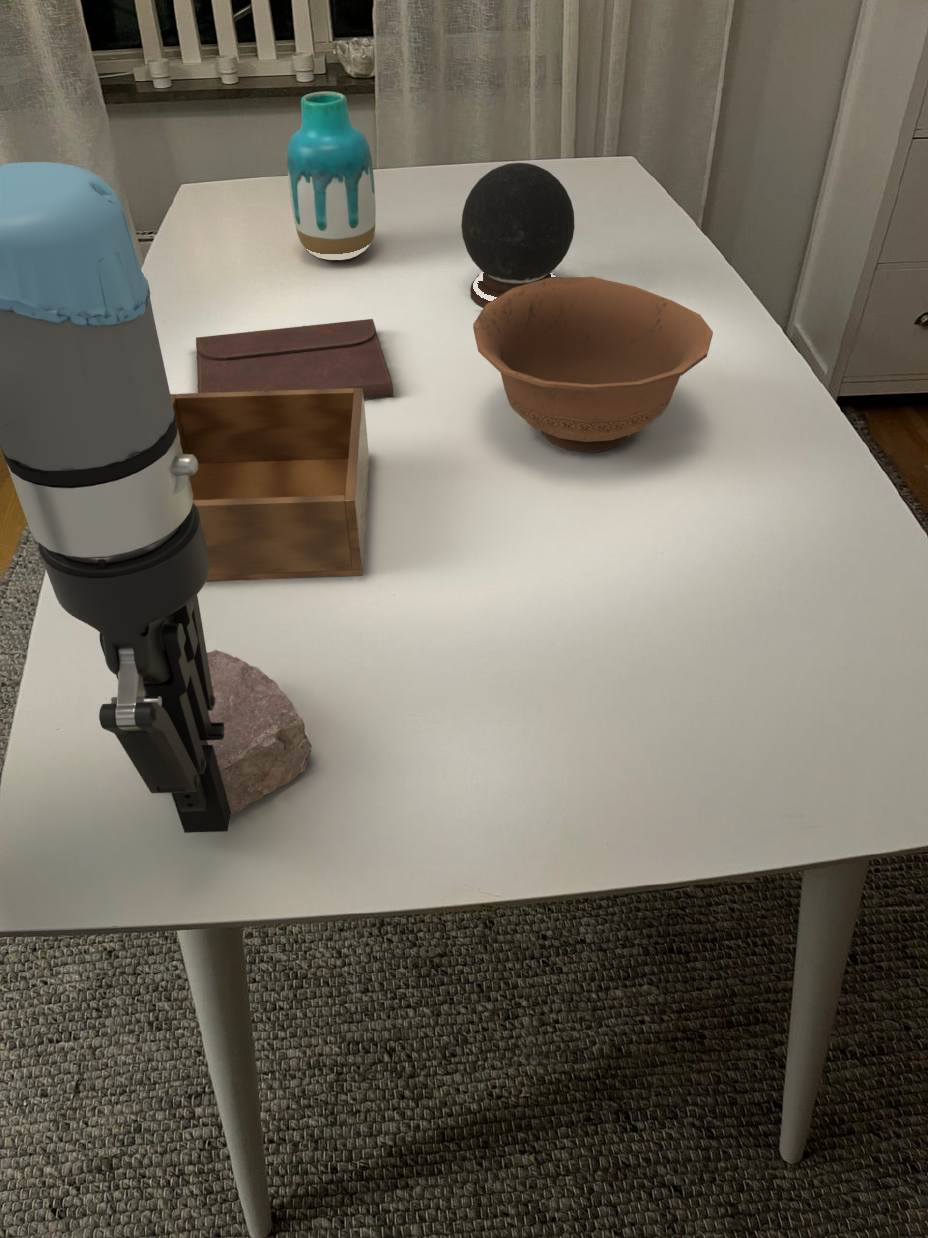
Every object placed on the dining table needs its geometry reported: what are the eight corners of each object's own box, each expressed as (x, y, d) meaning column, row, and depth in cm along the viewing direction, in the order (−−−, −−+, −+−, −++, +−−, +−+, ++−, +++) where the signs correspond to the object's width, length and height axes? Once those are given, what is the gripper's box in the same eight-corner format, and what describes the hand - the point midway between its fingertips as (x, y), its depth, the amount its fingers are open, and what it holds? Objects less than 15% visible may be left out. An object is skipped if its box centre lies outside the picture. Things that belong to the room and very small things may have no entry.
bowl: (640, 360, 111) (651, 262, 104) (737, 467, 95) (758, 360, 88) (447, 392, 106) (444, 292, 99) (515, 510, 91) (518, 401, 83)
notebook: (393, 397, 106) (392, 379, 104) (201, 419, 103) (197, 402, 102) (373, 332, 117) (372, 316, 115) (199, 351, 114) (195, 334, 113)
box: (149, 583, 84) (127, 508, 79) (184, 464, 97) (168, 393, 92) (362, 575, 84) (354, 500, 79) (369, 458, 97) (362, 387, 92)
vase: (291, 246, 136) (271, 89, 123) (368, 235, 138) (357, 81, 125) (306, 277, 128) (286, 114, 115) (387, 266, 131) (377, 104, 118)
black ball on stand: (451, 277, 128) (448, 152, 118) (552, 266, 130) (558, 142, 120) (476, 323, 118) (476, 191, 108) (584, 310, 120) (594, 179, 110)
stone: (123, 732, 72) (108, 684, 68) (235, 674, 76) (225, 627, 73) (208, 837, 65) (195, 789, 62) (325, 766, 69) (319, 718, 66)
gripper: (171, 606, 43) (255, 911, 59) (216, 442, 53) (278, 742, 69) (-6, 611, 43) (125, 916, 59) (72, 447, 53) (167, 746, 69)
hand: (207, 822), depth 64 cm, fingers closed
